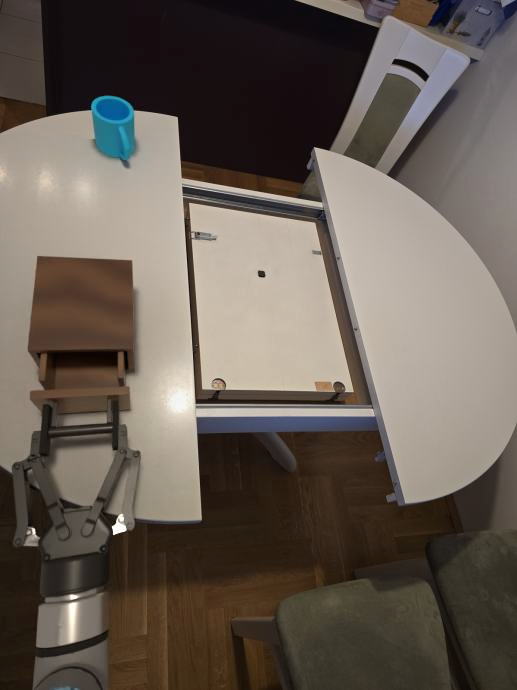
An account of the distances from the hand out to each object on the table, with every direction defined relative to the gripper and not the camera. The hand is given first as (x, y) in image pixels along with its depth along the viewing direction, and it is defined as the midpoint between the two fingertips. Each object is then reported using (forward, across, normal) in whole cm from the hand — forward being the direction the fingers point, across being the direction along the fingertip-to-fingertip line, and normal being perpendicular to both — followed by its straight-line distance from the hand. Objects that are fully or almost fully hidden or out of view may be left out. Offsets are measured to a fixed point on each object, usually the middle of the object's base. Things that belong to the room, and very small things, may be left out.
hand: (82, 405), depth 55 cm
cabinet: (+15, 0, -7) cm, 17 cm away
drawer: (+5, 0, -6) cm, 8 cm away
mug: (+59, +4, -7) cm, 60 cm away
